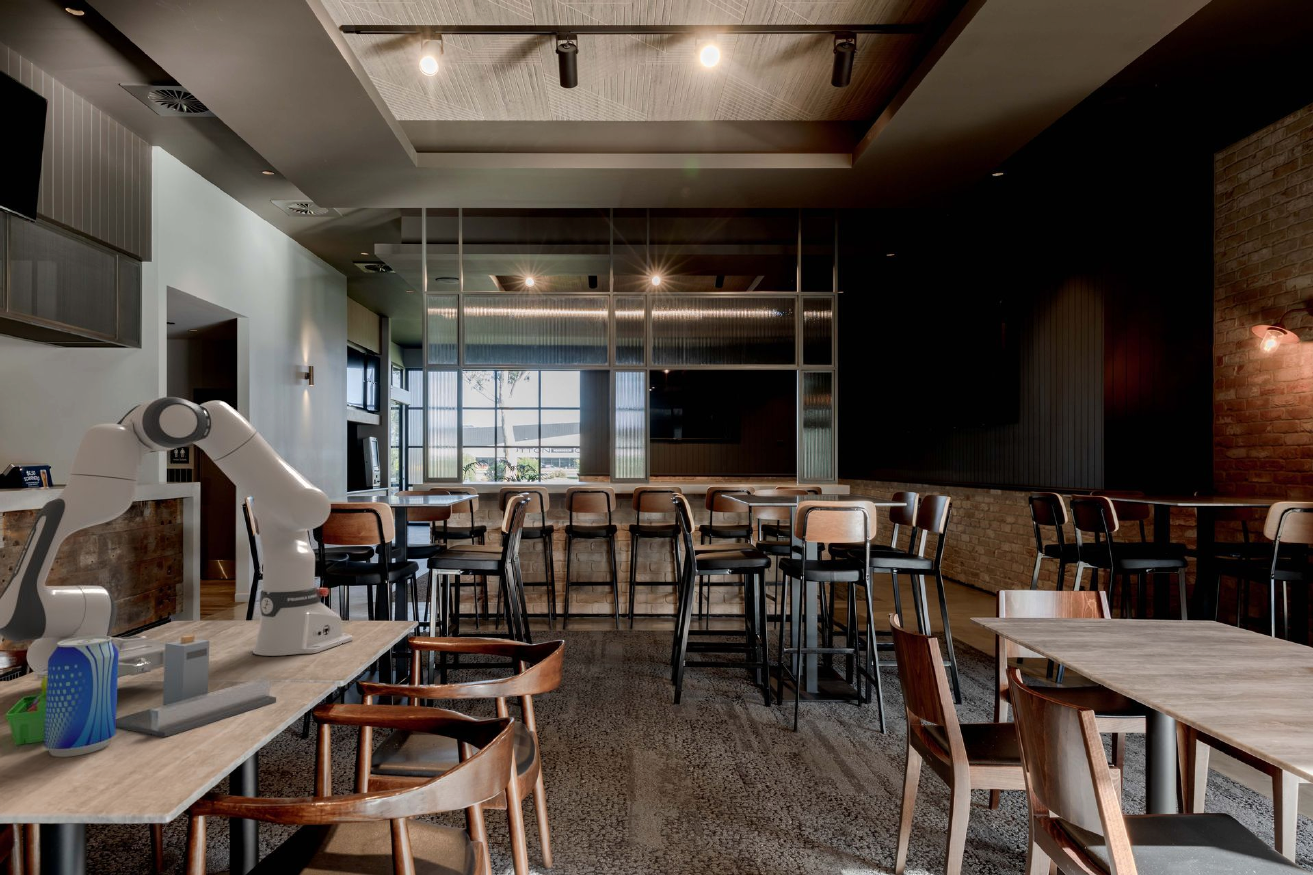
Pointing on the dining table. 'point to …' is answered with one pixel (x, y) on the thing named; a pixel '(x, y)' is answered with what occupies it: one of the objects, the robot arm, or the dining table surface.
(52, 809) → the dining table surface
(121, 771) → the dining table surface
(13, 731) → the fruit basket
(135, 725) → the rail plate
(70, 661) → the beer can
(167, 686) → the module
